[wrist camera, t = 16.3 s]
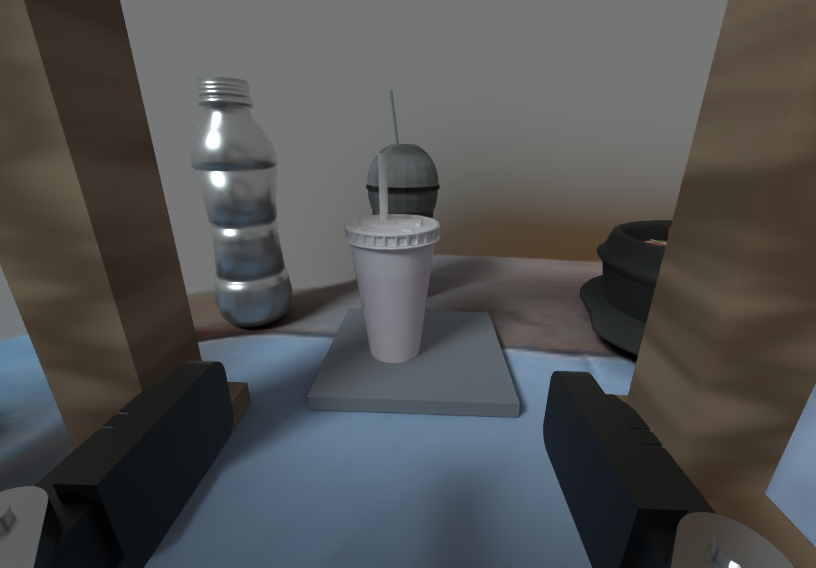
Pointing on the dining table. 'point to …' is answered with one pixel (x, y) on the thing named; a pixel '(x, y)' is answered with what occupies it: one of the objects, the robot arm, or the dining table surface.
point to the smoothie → (392, 274)
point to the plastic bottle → (240, 204)
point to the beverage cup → (404, 177)
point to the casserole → (626, 282)
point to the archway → (671, 305)
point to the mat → (419, 371)
